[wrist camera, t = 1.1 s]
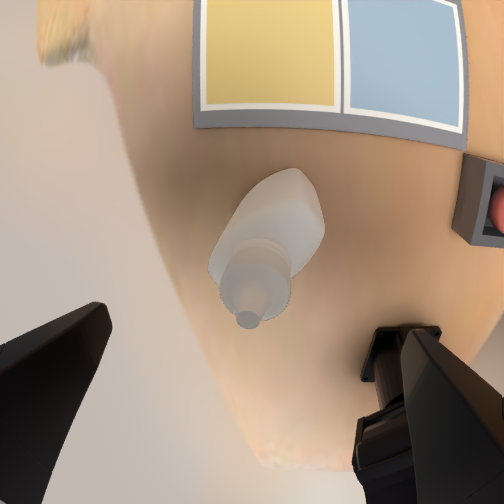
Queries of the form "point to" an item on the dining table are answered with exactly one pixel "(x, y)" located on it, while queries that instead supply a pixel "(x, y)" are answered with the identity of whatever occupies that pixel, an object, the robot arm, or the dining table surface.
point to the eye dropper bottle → (267, 246)
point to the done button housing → (478, 201)
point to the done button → (497, 209)
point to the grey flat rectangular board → (333, 67)
